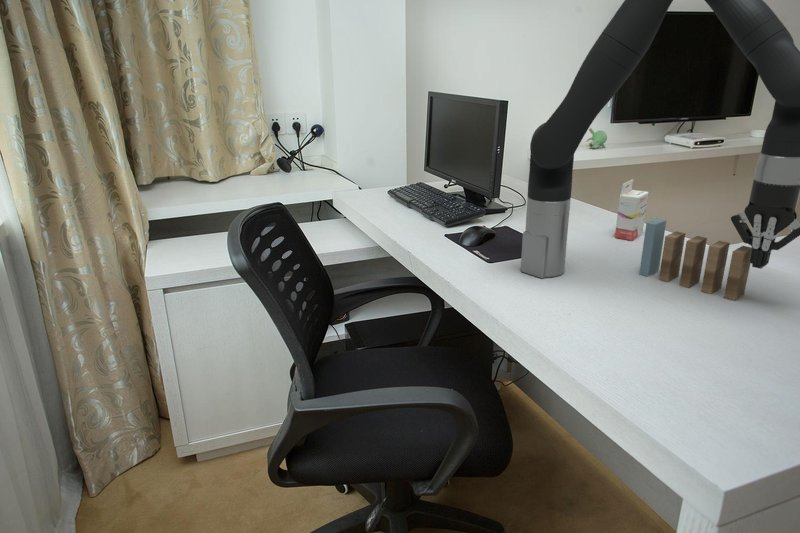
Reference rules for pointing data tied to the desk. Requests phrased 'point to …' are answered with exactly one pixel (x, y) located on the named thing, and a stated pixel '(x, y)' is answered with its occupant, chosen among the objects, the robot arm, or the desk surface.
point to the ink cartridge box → (631, 212)
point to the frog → (597, 139)
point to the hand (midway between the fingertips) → (758, 266)
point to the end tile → (652, 247)
